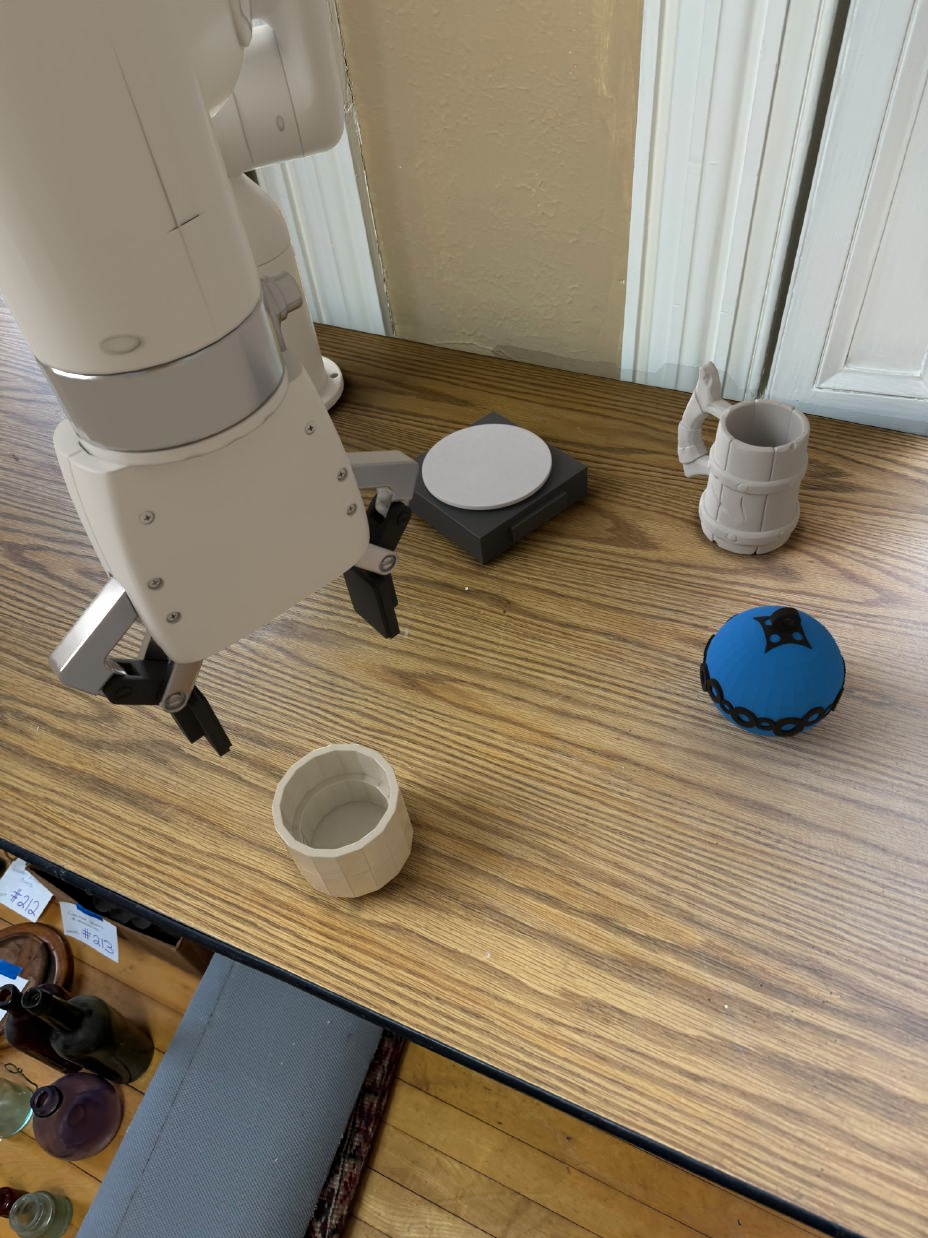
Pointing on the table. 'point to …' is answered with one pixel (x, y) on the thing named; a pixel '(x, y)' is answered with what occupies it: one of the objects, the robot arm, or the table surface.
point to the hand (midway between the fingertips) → (298, 676)
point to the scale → (494, 485)
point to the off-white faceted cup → (343, 819)
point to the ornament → (773, 671)
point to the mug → (745, 466)
